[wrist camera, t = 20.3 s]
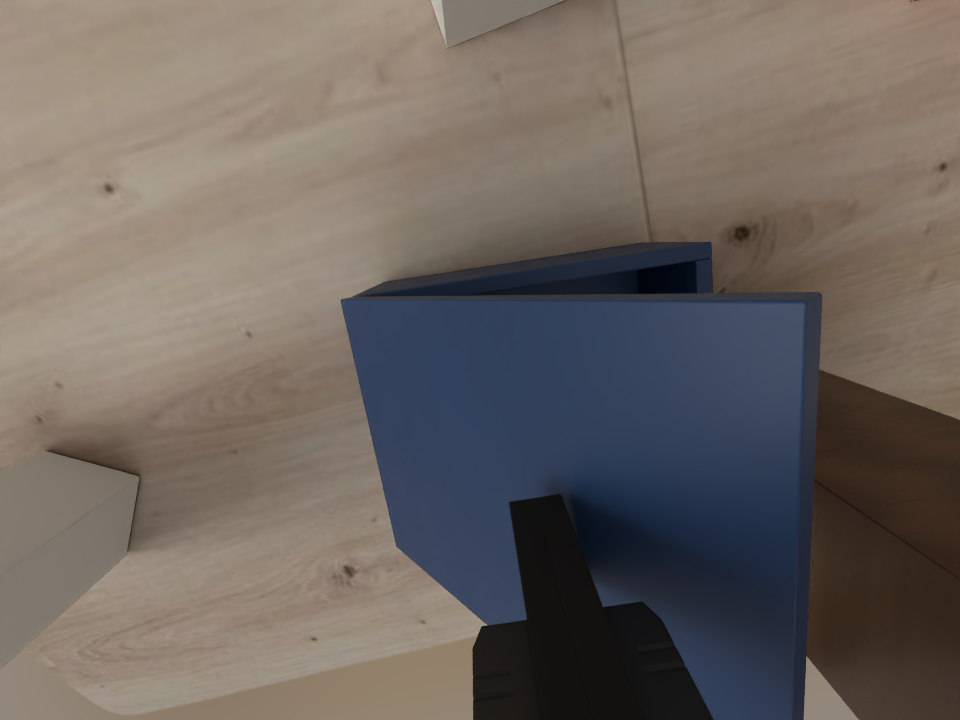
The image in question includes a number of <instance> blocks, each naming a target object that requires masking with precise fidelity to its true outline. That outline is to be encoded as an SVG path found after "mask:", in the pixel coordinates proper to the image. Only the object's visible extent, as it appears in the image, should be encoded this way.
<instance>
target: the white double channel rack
mask: <svg viewBox="0 0 960 720" xmlns="http://www.w3.org/2000/svg"><path fill="white" fill-rule="evenodd" d="M562 1H565V0H431V2H432V5H433V8H434V11H435V14H436V17H437V20H438V23H439V26H440V29H441V32H442V35H443V38H444V41H445V44H446V47H447V48H449V47H452V46H454V45H457V44H459V43H462V42H464V41H467V40H469V39H471V38H474V37H476V36H479V35H481V34H484V33H486V32H489V31H491V30H494V29H496V28H499V27H501V26H503V25H506V24H508V23H511V22H513V21H516V20H518V19H521V18H523V17H526V16H528V15H530V14H533V13H535V12H538V11H540V10H543V9H545V8H548V7H550V6H553V5H555V4H558V3H560V2H562Z"/></svg>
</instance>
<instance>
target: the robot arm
mask: <svg viewBox="0 0 960 720" xmlns="http://www.w3.org/2000/svg"><path fill="white" fill-rule="evenodd" d="M509 508H510V514H511V521H512V527H513V534H514V540H515V547H516V553H517V560H518V566H519V573H520V579H521V586H522V592H523V598H524V605H525V611H526V618H527V620H522V621H515V622H508V623H502V624H495V625H488V626H482V627H481V630H480V632H479V634H478V637H477V639H476V642H475V644H474V646H473V697H474V700H473V720H714V719H713V717H712V715H711V713H710V712H709V710H708V708H707V706H706V704H705V702H704V700H703V698H702V696H701V694H700V692H699V690H698V688H697V686H696V684H695V682H694V681H693V679H692V677H691V675H690V673H689V671H688V669H687V668H686V667H685V664H684V661H683V659H682V657H681V655H680V653H679V651H678V650H677V648H676V647H675V645H674V642H673V640H672V638H671V636H670V634H669V632H668V630H667V628H666V626H665V624H664V622H663V620H662V619H661V618H660V617H659V616H658V615H657V614H656V613H654V612H653V611H652V610H651V609H650V608H649V607H648V606H647V605H646V604H645V603H644V602H643V601H641V602H634V603H628V604H621V605H614V606H607V607H603V606H602V603H601V600H600V597H599V595H598V592H597V589H596V587H595V584H594V581H593V579H592V576H591V573H590V571H589V568H588V565H587V562H586V560H585V557H584V554H583V552H582V549H581V546H580V544H579V541H578V538H577V536H576V533H575V530H574V528H573V525H572V522H571V519H570V517H569V514H568V511H567V509H566V506H565V503H564V501H563V498H562V495H561V494H557V495H550V496H544V497H537V498H530V499H524V500H517V501H510V502H509Z"/></svg>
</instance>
